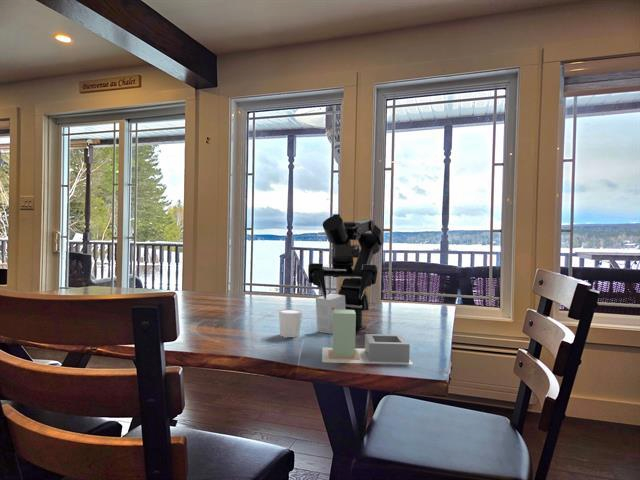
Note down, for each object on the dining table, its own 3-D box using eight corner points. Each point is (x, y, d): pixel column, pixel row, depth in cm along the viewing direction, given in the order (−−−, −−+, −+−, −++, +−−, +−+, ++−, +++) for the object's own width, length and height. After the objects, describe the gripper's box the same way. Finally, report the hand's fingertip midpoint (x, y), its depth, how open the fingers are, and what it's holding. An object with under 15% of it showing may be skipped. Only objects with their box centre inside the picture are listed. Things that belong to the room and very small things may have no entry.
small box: (332, 325, 126) (331, 293, 126) (346, 328, 123) (345, 294, 122) (316, 331, 120) (315, 297, 120) (330, 334, 117) (329, 299, 116)
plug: (332, 350, 95) (333, 309, 95) (353, 351, 95) (354, 309, 95) (333, 356, 90) (334, 313, 90) (354, 357, 90) (355, 313, 90)
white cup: (303, 333, 118) (303, 309, 118) (299, 338, 111) (300, 313, 111) (280, 332, 119) (281, 308, 119) (275, 337, 112) (276, 313, 112)
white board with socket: (322, 351, 99) (322, 331, 99) (402, 353, 98) (402, 333, 98) (322, 366, 87) (322, 343, 87) (412, 368, 86) (413, 346, 86)
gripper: (309, 233, 108) (306, 277, 97) (377, 235, 108) (382, 279, 96) (309, 261, 115) (307, 304, 104) (373, 262, 115) (377, 306, 104)
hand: (343, 298), depth 102 cm, fingers open, 9 cm apart
